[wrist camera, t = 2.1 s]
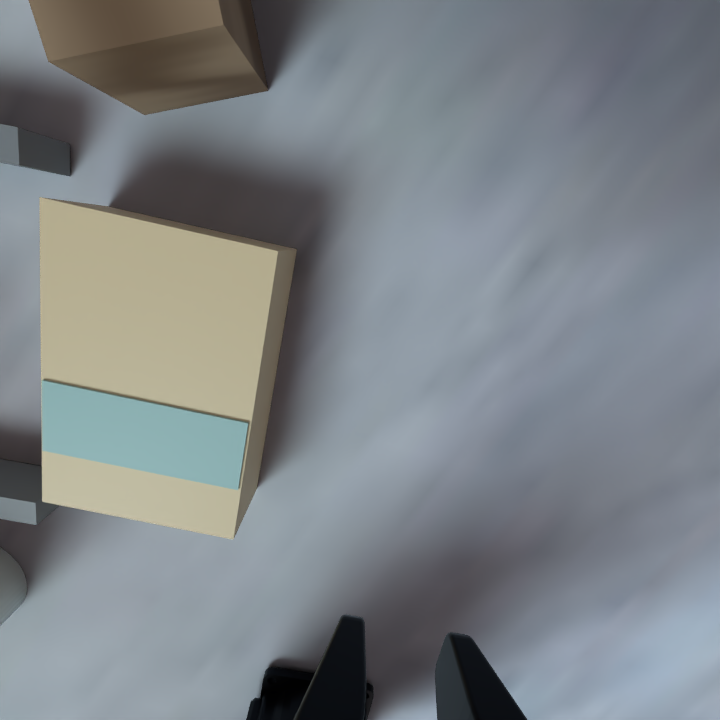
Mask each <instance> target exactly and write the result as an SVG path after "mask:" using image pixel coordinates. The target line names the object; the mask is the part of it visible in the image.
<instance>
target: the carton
mask: <svg viewBox="0 0 720 720" xmlns="http://www.w3.org/2000/svg"><path fill="white" fill-rule="evenodd" d="M296 252H297V249H294V248H290V247H285V246H281V245H276V244H272V243H267V242H263V241H259V240H254V239H250V238H245V237H241V236H237V235H232V234H228V233H223V232H219V231H214V230H210V229H206V228H201V227H197V226H192V225H188V224H183V223H179V222H175V221H170V220H166V219H161V218H157V217H152V216H148V215H144V214H139V213H135V212H130V211H126V210H122V209H117V208H113V207H108V206H101V205H93V204H86V203H78V202H71V201H64V200H56V199H49V198H41V197H40V305H41V422H42V502H46V503H51V504H56V505H61V506H66V507H72V508H77V509H82V510H87V511H92V512H97V513H102V514H107V515H112V516H117V517H122V518H127V519H132V520H137V521H142V522H147V523H152V524H158V525H163V526H168V527H173V528H178V529H183V530H188V531H193V532H198V533H203V534H208V535H213V536H218V537H223V538H228V539H234V537H235V535H236V533H237V531H238V528H239V526H240V524H241V522H242V520H243V517H244V515H245V513H246V511H247V509H248V507H249V504H250V502H251V500H252V498H253V496H254V494H255V491H256V489H257V485H258V479H259V473H260V467H261V461H262V455H263V449H264V443H265V437H266V431H267V425H268V419H269V413H270V407H271V401H272V395H273V389H274V383H275V378H276V372H277V366H278V360H279V354H280V348H281V342H282V336H283V330H284V324H285V318H286V312H287V306H288V300H289V294H290V288H291V282H292V276H293V270H294V264H295V258H296Z"/></svg>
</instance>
